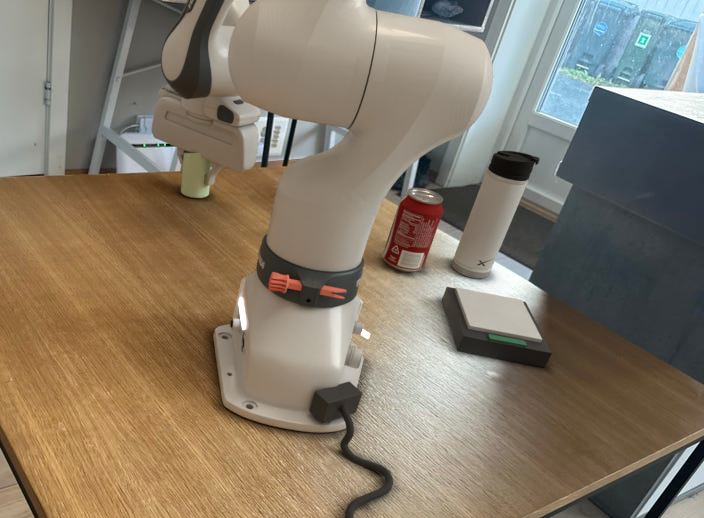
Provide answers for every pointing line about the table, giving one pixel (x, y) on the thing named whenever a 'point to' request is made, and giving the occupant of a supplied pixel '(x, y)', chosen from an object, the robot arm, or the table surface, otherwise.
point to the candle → (195, 175)
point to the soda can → (413, 230)
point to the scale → (494, 327)
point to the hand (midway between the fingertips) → (197, 179)
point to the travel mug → (493, 212)
